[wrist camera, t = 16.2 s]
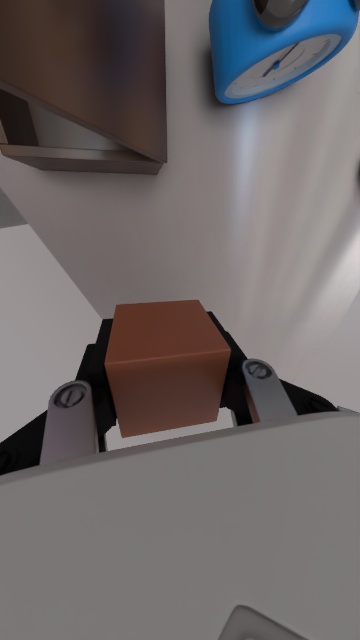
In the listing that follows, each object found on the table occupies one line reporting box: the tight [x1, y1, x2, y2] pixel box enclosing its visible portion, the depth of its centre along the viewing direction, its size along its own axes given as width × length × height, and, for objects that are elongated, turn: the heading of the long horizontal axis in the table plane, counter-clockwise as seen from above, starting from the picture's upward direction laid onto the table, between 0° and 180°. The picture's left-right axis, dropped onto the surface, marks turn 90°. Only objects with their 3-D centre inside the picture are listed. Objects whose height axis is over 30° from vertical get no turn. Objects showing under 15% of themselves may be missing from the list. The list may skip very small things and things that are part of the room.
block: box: [104, 300, 231, 438], centre depth 9 cm, size 4×4×4 cm
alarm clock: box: [209, 0, 360, 104], centre depth 19 cm, size 13×6×15 cm, turn 103°
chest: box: [0, 89, 163, 175], centre depth 21 cm, size 16×13×9 cm
